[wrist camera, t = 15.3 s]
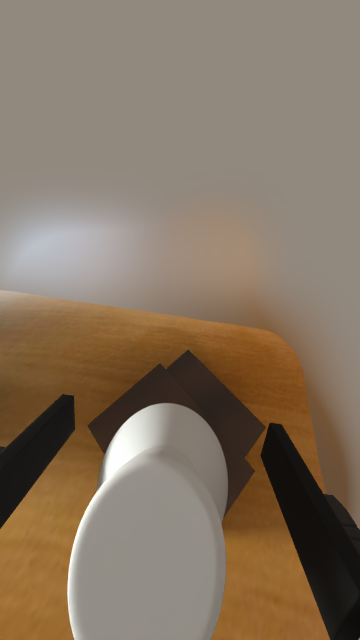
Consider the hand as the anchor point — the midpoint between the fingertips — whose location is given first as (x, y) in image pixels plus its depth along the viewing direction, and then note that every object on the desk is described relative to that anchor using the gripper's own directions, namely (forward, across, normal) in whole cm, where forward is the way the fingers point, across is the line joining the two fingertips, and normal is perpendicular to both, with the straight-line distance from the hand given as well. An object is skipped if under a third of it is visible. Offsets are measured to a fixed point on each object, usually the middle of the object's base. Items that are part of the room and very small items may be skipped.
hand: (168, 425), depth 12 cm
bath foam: (+6, 0, -9) cm, 11 cm away
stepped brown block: (+15, +2, -14) cm, 21 cm away
